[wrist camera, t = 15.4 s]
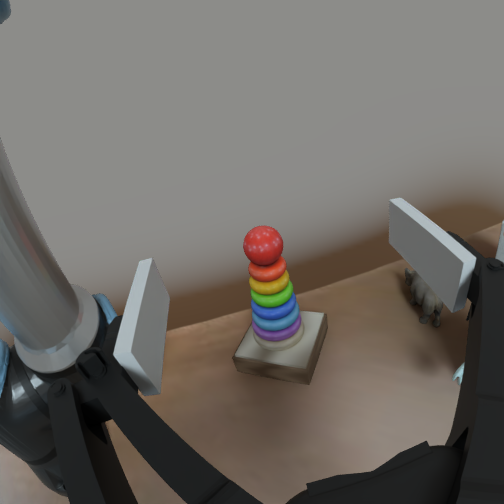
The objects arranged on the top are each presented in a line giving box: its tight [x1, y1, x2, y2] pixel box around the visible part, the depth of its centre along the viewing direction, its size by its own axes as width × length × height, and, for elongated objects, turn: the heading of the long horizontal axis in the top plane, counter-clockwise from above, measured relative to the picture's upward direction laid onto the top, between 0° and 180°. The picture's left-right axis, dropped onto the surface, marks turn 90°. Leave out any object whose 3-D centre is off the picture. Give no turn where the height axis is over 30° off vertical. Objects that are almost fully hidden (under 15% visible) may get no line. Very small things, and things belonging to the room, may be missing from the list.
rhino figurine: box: [405, 268, 443, 327], centre depth 50 cm, size 4×14×6 cm, turn 2°
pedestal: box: [232, 311, 328, 385], centre depth 50 cm, size 12×12×4 cm
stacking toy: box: [243, 226, 304, 351], centre depth 44 cm, size 8×8×19 cm
